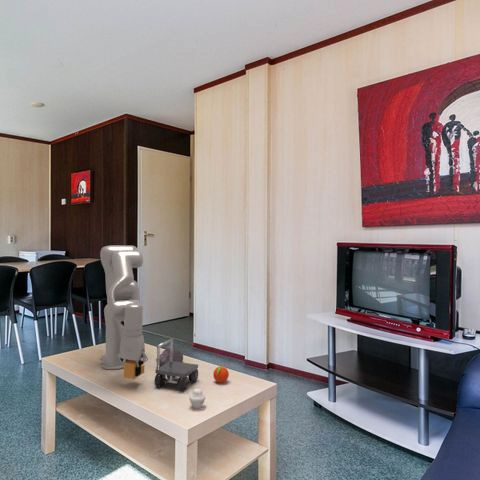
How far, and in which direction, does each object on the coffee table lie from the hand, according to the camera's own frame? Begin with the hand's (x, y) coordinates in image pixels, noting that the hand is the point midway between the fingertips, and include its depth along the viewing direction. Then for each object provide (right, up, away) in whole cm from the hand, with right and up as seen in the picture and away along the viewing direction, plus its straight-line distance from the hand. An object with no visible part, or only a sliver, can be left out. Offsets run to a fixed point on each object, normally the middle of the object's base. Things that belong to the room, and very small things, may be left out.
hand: (132, 373), depth 166 cm
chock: (0, -1, +1) cm, 2 cm away
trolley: (+19, -6, +4) cm, 20 cm away
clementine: (+38, -6, +6) cm, 39 cm away
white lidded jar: (+30, -7, -18) cm, 36 cm away
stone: (+11, -6, +28) cm, 31 cm away
